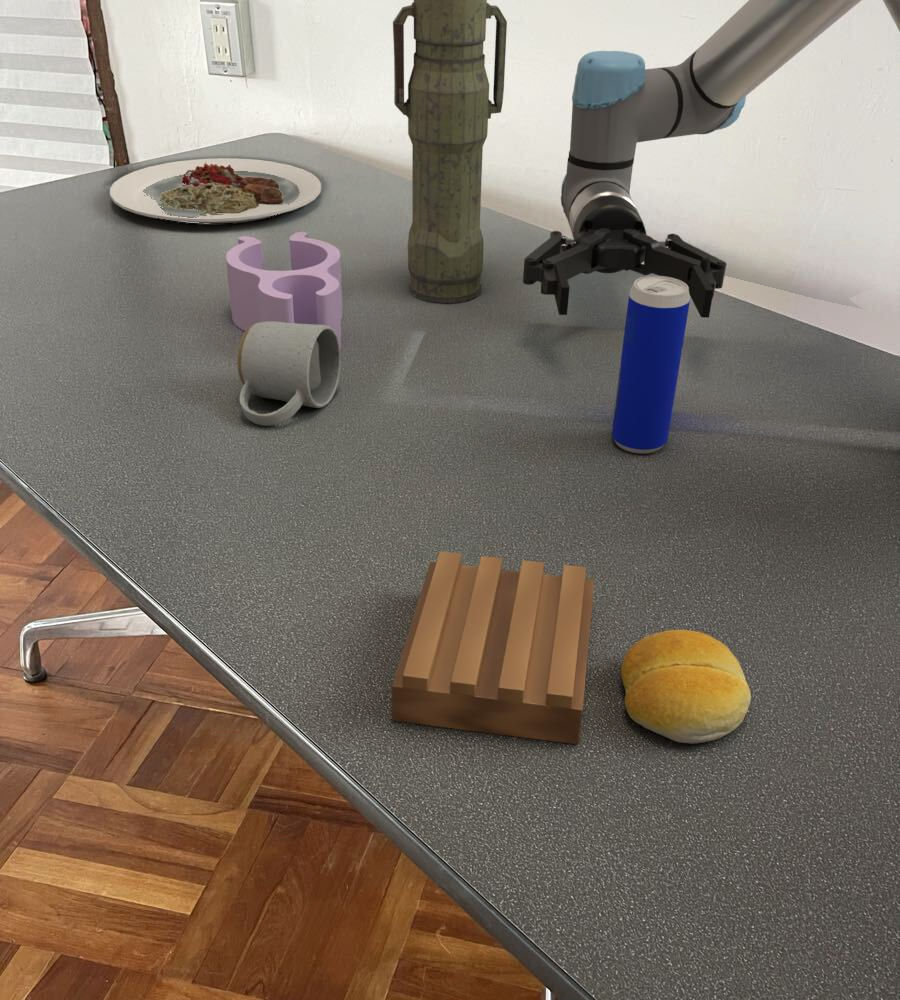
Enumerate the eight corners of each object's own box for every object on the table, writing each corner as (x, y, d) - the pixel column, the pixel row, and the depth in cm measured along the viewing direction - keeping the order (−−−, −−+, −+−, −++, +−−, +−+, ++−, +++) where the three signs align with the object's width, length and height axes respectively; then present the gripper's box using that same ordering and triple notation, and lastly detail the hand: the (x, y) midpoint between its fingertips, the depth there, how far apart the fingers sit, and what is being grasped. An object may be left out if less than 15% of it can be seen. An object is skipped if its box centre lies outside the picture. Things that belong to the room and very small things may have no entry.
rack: (590, 612, 79) (596, 567, 76) (578, 745, 68) (584, 697, 65) (429, 594, 80) (430, 549, 78) (392, 721, 69) (391, 674, 67)
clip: (367, 354, 114) (365, 291, 110) (250, 367, 111) (243, 302, 107) (327, 287, 129) (325, 229, 125) (223, 296, 126) (217, 238, 122)
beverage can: (636, 424, 103) (658, 270, 94) (678, 444, 100) (704, 287, 91) (599, 439, 100) (617, 283, 91) (641, 461, 97) (664, 301, 88)
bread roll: (628, 747, 68) (636, 700, 65) (615, 656, 75) (621, 611, 72) (759, 752, 68) (772, 705, 65) (734, 661, 75) (744, 615, 72)
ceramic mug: (269, 375, 109) (262, 302, 105) (344, 387, 108) (340, 314, 103) (220, 422, 101) (211, 346, 97) (300, 436, 100) (293, 360, 95)
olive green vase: (389, 280, 132) (384, -52, 111) (482, 273, 134) (495, -52, 113) (403, 307, 125) (402, -41, 104) (501, 300, 127) (518, -42, 106)
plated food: (182, 248, 139) (179, 222, 137) (74, 194, 157) (69, 170, 154) (363, 205, 156) (362, 180, 154) (247, 160, 173) (245, 138, 171)
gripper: (713, 264, 121) (758, 342, 104) (492, 260, 120) (502, 337, 103) (725, 196, 116) (774, 266, 99) (495, 191, 116) (506, 260, 99)
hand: (636, 302), depth 101 cm, fingers open, 13 cm apart
